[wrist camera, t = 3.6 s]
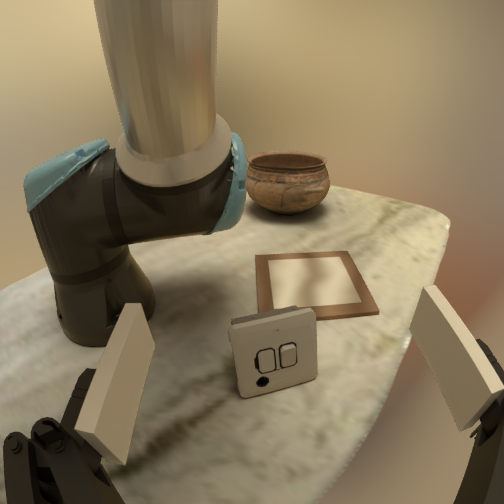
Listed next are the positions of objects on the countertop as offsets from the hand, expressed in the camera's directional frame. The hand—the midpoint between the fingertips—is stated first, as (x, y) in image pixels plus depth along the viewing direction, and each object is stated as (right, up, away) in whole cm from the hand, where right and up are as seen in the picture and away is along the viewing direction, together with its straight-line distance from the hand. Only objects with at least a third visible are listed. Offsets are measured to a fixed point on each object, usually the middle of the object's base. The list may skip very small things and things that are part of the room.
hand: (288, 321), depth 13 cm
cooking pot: (+7, +13, +56) cm, 58 cm away
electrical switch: (0, -10, +17) cm, 20 cm away
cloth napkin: (+7, -2, +31) cm, 32 cm away
